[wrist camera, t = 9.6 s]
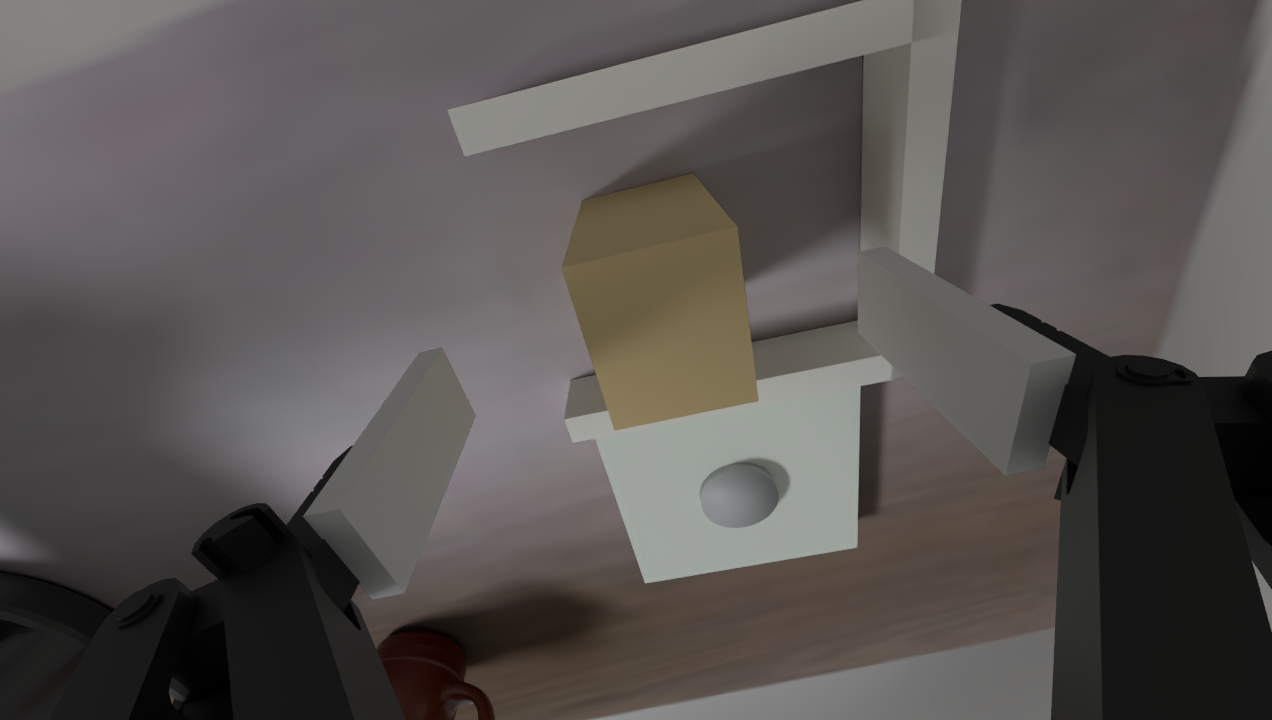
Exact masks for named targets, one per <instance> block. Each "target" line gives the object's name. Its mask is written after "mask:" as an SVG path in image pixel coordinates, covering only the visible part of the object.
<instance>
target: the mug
mask: <svg viewBox="0 0 1272 720" xmlns="http://www.w3.org/2000/svg"><path fill="white" fill-rule="evenodd" d="M376 650H377V652H378V655H379V657H380V659H381V662H382V664H383V667H384V669H385V671H386V674H387V676H388V678H389V681H390V683H391V685H392V688H393V690H394V692H395V695H396V697H397V699H398V702H399V704H400V706H401V709H402V711H403V714H404V716H405V718H406V720H454V718H455V715H456V711H457V708H458V707H459V706H461V705H465V704H471V705H474V706H476V707H477V710H478V720H495V716H494V711H493V707H492V704H491V702H490V700H489V698H488V697H487V695H486V694H485V693H484V692H483V691H482V690H481V689H479V688H477V687H475V686H473V685H471V684H469V683H466V682H464V678H465V674H466V656H465V653H464V652H463V650H462V649H461V647H460V646H459V645H458V644H457V643H456V642H455V641H454V640H452V639H451V638H450V637H448V636H446V635H443V634H440V633H437V632H433V631H428V630H408V631H403V632H400V633H397V634H395V635H392V636H390V637H388V638H386V639H385V640H383V641H382V642H381V643H380V644H379V646H378V647H377V649H376Z"/></svg>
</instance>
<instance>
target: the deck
mask: <svg viewBox="0 0 1272 720" xmlns="http://www.w3.org/2000/svg"><path fill="white" fill-rule="evenodd" d="M961 4H962V0H862V1H858V2H854V3H851V4H847V5H843V6H839V7H836V8H832V9H828V10H824V11H820V12H817V13H813V14H809V15H805V16H801V17H798V18H794V19H790V20H786V21H783V22H779V23H775V24H771V25H767V26H764V27H760V28H756V29H752V30H748V31H745V32H741V33H737V34H733V35H729V36H726V37H722V38H718V39H714V40H711V41H707V42H703V43H699V44H695V45H692V46H688V47H684V48H680V49H676V50H673V51H669V52H665V53H661V54H658V55H654V56H650V57H646V58H642V59H639V60H635V61H631V62H627V63H623V64H620V65H616V66H612V67H608V68H605V69H601V70H597V71H593V72H589V73H586V74H582V75H578V76H574V77H570V78H567V79H563V80H559V81H555V82H552V83H548V84H544V85H540V86H536V87H533V88H529V89H525V90H521V91H517V92H514V93H510V94H506V95H502V96H499V97H495V98H491V99H487V100H483V101H480V102H476V103H472V104H468V105H464V106H461V107H457V108H453V109H449V110H447V111H448V114H449V117H450V119H451V122H452V124H453V127H454V130H455V132H456V135H457V138H458V140H459V143H460V146H461V148H462V151H463V154H464V156H469V155H473V154H477V153H481V152H485V151H489V150H493V149H497V148H501V147H505V146H509V145H512V144H516V143H520V142H524V141H528V140H532V139H536V138H540V137H544V136H548V135H552V134H556V133H560V132H563V131H567V130H571V129H575V128H579V127H583V126H587V125H591V124H595V123H599V122H603V121H607V120H611V119H615V118H618V117H622V116H626V115H630V114H634V113H638V112H642V111H646V110H650V109H654V108H658V107H662V106H666V105H670V104H673V103H677V102H681V101H685V100H689V99H693V98H697V97H701V96H705V95H709V94H713V93H717V92H721V91H725V90H728V89H732V88H736V87H740V86H744V85H748V84H752V83H756V82H760V81H764V80H768V79H772V78H776V77H780V76H783V75H787V74H791V73H795V72H799V71H803V70H807V69H811V68H815V67H819V66H823V65H827V64H831V63H835V62H838V61H842V60H846V59H850V58H854V57H858V56H862V55H864V64H863V122H862V179H861V237H860V252H861V251H865V250H869V249H874V248H878V247H882V246H885V247H887V248H889V249H891V250H893V251H894V252H896V253H898V254H900V255H901V256H903V257H905V258H907V259H908V260H910V261H912V262H914V263H916V264H917V265H919V266H921V267H923V268H924V269H926V270H928V271H930V272H931V273H933V274H934V270H935V261H936V251H937V241H938V231H939V221H940V211H941V201H942V191H943V182H944V172H945V162H946V152H947V142H948V132H949V122H950V112H951V103H952V93H953V83H954V73H955V63H956V53H957V43H958V33H959V24H960V14H961ZM752 349H753V357H754V366H755V374H756V382H757V390H758V398H759V401H757V402H752V403H747V404H742V405H738V406H733V407H728V408H723V409H718V410H713V411H708V412H703V413H699V414H694V415H689V416H684V417H679V418H674V419H669V420H665V421H660V422H655V423H650V424H645V425H640V426H635V427H630V428H626V429H621V430H616V431H614V428H613V425H612V422H611V419H610V415H609V412H608V409H607V406H606V403H605V400H604V397H603V394H602V391H601V388H600V385H599V382H598V379H597V376H596V375H593V376H588V377H583V378H578V379H574V380H570V386H569V392H568V399H567V405H566V411H565V417H564V420H565V423H566V426H567V428H568V431H569V434H570V436H571V439H572V442H573V443H575V442H580V441H585V440H590V439H595V440H596V442H597V445H598V448H599V451H600V454H601V457H602V460H603V463H604V466H605V468H606V471H607V474H608V477H609V480H610V483H611V486H612V489H613V492H614V495H615V497H616V500H617V503H618V506H619V509H620V512H621V515H622V518H623V521H624V523H625V526H626V529H627V532H628V535H629V538H630V541H631V544H632V547H633V550H634V552H635V555H636V558H637V561H638V564H639V567H640V570H641V573H642V576H643V578H644V581H645V583H651V582H656V581H662V580H668V579H674V578H680V577H686V576H692V575H698V574H704V573H710V572H716V571H721V570H727V569H733V568H739V567H745V566H751V565H757V564H763V563H769V562H775V561H781V560H786V559H792V558H798V557H804V556H810V555H816V554H822V553H828V552H834V551H840V550H845V549H851V548H857V532H858V484H859V436H860V388H861V386H864V385H869V384H874V383H879V382H884V381H889V380H894V379H899V378H904V377H903V376H902V375H901V374H900V373H899V372H898V371H897V370H896V369H895V368H894V367H893V366H892V365H891V364H890V363H889V362H888V361H887V360H886V359H885V358H884V357H883V356H882V355H881V354H879V353H878V352H877V351H876V350H875V349H874V348H873V347H872V346H871V345H870V344H869V343H868V342H867V341H866V340H865V339H864V338H863V337H862V336H861V335H860V334H859V333H858V320H856V321H851V322H847V323H842V324H837V325H832V326H827V327H823V328H818V329H813V330H808V331H803V332H799V333H794V334H789V335H784V336H779V337H775V338H770V339H765V340H760V341H756V342H752Z"/></svg>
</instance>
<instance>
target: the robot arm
mask: <svg viewBox="0 0 1272 720" xmlns="http://www.w3.org/2000/svg"><path fill="white" fill-rule="evenodd" d="M858 333H859V334H860V335H861V336H862V337H863V338H864V339H865V340H866V341H867V342H868V343H869V344H870V345H871V346H872V347H873V348H874V349H875V350H876V351H877V352H878V353H879V354H881V355H882V356H883V357H884V358H885V359H886V360H887V361H888V362H889V363H890V364H891V365H892V366H893V367H894V368H895V369H896V370H897V371H898V372H899V373H900V374H901V375H902V376H903V377H904V378H905V379H906V380H907V381H908V382H909V383H910V384H911V385H912V386H913V387H915V388H916V389H917V390H918V391H919V392H920V393H921V394H922V395H923V396H924V397H925V398H926V399H927V400H928V401H929V402H930V403H931V404H932V405H933V406H934V407H935V408H936V409H937V410H938V411H939V412H940V413H941V414H942V415H943V416H944V417H945V418H946V419H947V420H949V421H950V422H951V423H952V424H953V425H954V426H955V427H956V428H957V429H958V430H959V431H960V432H961V433H962V434H963V435H964V436H965V437H966V438H967V439H968V440H969V441H970V442H971V443H972V444H973V445H974V446H975V447H976V448H977V449H978V450H979V451H980V452H981V453H982V454H984V455H985V456H986V457H987V458H988V459H989V460H990V461H991V462H992V463H993V464H994V465H995V466H996V467H997V468H998V469H999V470H1000V471H1001V472H1002V473H1003V474H1004V475H1005V476H1007V475H1012V474H1017V473H1022V472H1027V471H1032V470H1037V469H1042V468H1044V465H1045V462H1046V458H1047V455H1048V451H1049V448H1050V445H1051V446H1052V447H1053V448H1055V449H1056V450H1057V451H1058V452H1060V453H1061V454H1062V455H1063V456H1065V457H1066V458H1067V459H1066V462H1065V465H1064V468H1063V471H1062V475H1061V478H1060V481H1059V484H1058V487H1057V491H1056V494H1055V497H1054V499H1057V500H1061V514H1060V535H1059V557H1058V579H1057V601H1056V622H1055V644H1054V646H1055V647H1054V667H1053V688H1052V709H1051V720H1272V632H1271V628H1270V624H1269V621H1268V617H1267V614H1266V610H1265V606H1264V603H1263V599H1262V596H1261V592H1260V588H1259V585H1258V582H1257V578H1256V575H1255V571H1254V567H1253V563H1254V564H1255V566H1256V567H1257V568H1258V570H1259V571H1260V573H1261V574H1262V576H1263V577H1264V579H1265V580H1266V582H1267V583H1268V585H1269V586H1270V587H1271V589H1272V351H1269V352H1266V353H1262V354H1259V355H1257V356H1256V358H1255V359H1254V360H1253V362H1252V364H1251V366H1250V368H1249V370H1248V371H1247V373H1246V375H1245V376H1241V377H1240V376H1239V377H1198V376H1197V375H1196V374H1195V373H1194V372H1192V371H1191V370H1189V369H1187V368H1185V367H1184V366H1182V365H1179V364H1176V363H1173V362H1170V361H1167V360H1164V359H1159V358H1153V357H1147V356H1137V355H1121V356H1114V357H1109V356H1107V355H1105V354H1103V353H1102V352H1100V351H1098V350H1096V349H1094V348H1092V347H1090V346H1088V345H1087V344H1085V343H1083V342H1081V341H1079V340H1077V339H1075V338H1073V337H1072V336H1070V335H1068V334H1066V333H1064V332H1062V331H1057V328H1055V327H1053V326H1051V325H1049V324H1047V323H1045V322H1044V323H1042V322H1041V320H1040V319H1038V318H1036V317H1034V316H1032V315H1030V314H1028V313H1027V312H1025V311H1023V310H1019V309H1016V308H1012V307H1008V306H1005V305H1001V304H993V305H988V304H986V303H985V302H983V301H981V300H979V299H977V298H976V297H974V296H972V295H970V294H969V293H967V292H965V291H963V290H962V289H960V288H958V287H956V286H954V285H953V284H951V283H949V282H947V281H946V280H944V279H942V278H940V277H939V276H937V275H935V274H933V273H931V272H930V271H928V270H926V269H924V268H923V267H921V266H919V265H917V264H916V263H914V262H912V261H910V260H908V259H907V258H905V257H903V256H901V255H900V254H898V253H896V252H894V251H893V250H891V249H889V248H887V247H885V246H882V247H878V248H874V249H869V250H865V251H861V252H859V269H858ZM475 417H476V415H475V413H474V411H473V409H472V407H471V405H470V403H469V401H468V399H467V397H466V395H465V393H464V391H463V389H462V387H461V385H460V383H459V381H458V379H457V377H456V375H455V373H454V371H453V368H452V366H451V364H450V362H449V360H448V358H447V356H446V354H445V352H444V350H443V348H438V349H434V350H429V351H425V352H421V353H419V354H418V355H417V357H416V358H415V360H414V361H413V362H412V364H411V365H410V367H409V368H408V369H407V371H406V372H405V374H404V375H403V376H402V378H401V379H400V381H399V382H398V383H397V385H396V386H395V388H394V389H393V390H392V392H391V393H390V395H389V396H388V397H387V399H386V400H385V402H384V403H383V405H382V406H381V407H380V409H379V410H378V412H377V413H376V414H375V416H374V417H373V419H372V420H371V421H370V423H369V424H368V426H367V427H366V428H365V430H364V431H363V433H362V434H361V435H360V437H359V438H358V440H357V441H356V442H355V444H354V445H353V446H350V447H349V448H348V449H347V450H346V451H345V452H344V453H342V454H341V455H340V456H339V457H338V458H337V459H336V460H334V461H333V463H332V464H331V465H330V467H329V468H328V470H327V471H326V472H325V474H324V475H323V479H320V480H319V482H318V483H317V485H316V486H315V487H314V491H313V492H311V493H310V494H309V495H308V497H307V498H306V500H305V501H304V502H303V504H302V505H301V506H300V508H299V509H298V510H297V512H296V513H295V515H294V516H293V517H292V519H291V520H290V521H289V523H288V524H287V525H285V524H284V523H283V522H282V521H281V519H280V518H279V517H278V516H277V515H276V514H275V513H274V511H273V510H272V509H271V508H270V507H269V506H268V505H267V504H265V503H256V504H252V505H249V506H245V507H243V508H241V509H239V510H237V511H235V512H232V513H230V514H229V515H227V516H226V517H224V518H223V519H221V520H220V521H218V522H217V523H215V524H214V525H213V526H212V527H210V528H209V529H208V530H207V531H206V532H205V533H204V534H203V535H202V536H201V537H200V538H199V540H198V541H197V542H196V543H195V545H194V547H193V550H192V553H191V554H192V555H193V556H194V557H195V558H196V559H197V560H198V561H199V562H200V563H201V564H203V565H204V566H205V567H206V568H207V569H208V570H209V571H210V572H211V573H212V574H213V575H214V576H215V577H217V578H218V580H216V581H214V582H212V583H209V584H207V585H205V586H202V587H200V588H198V589H196V590H193V591H190V590H189V589H188V588H187V587H186V586H185V585H184V584H182V583H181V582H180V581H179V580H177V579H176V578H172V579H164V580H161V581H159V582H156V583H154V584H151V585H149V586H148V587H146V588H144V589H142V590H141V591H137V592H135V593H134V594H132V595H131V596H129V599H125V600H124V601H123V602H122V603H120V604H119V605H118V606H117V608H116V609H115V610H114V611H113V612H111V611H110V610H108V609H106V608H105V607H103V606H101V605H99V604H97V603H96V602H94V601H92V600H89V599H87V598H85V597H83V596H81V595H78V594H76V593H74V592H71V591H69V590H66V589H63V588H60V587H57V586H54V585H51V584H48V583H45V582H41V581H38V580H34V579H30V578H26V577H21V576H16V575H11V574H5V573H0V720H406V718H405V716H404V714H403V711H402V709H401V706H400V704H399V702H398V699H397V697H396V695H395V692H394V690H393V688H392V685H391V683H390V681H389V678H388V676H387V674H386V671H385V669H384V667H383V664H382V662H381V659H380V657H379V655H378V652H377V650H376V648H375V645H374V643H373V641H372V638H371V636H370V634H369V631H368V629H367V627H366V624H365V622H364V620H363V617H362V615H361V612H360V610H359V608H358V607H357V606H356V605H355V604H354V603H353V602H352V600H351V598H352V596H353V594H354V592H355V590H356V588H357V586H358V584H360V585H361V586H362V588H363V589H364V590H365V591H366V592H367V594H368V595H369V596H370V597H371V598H372V600H373V599H378V598H383V597H388V596H393V595H398V594H403V593H405V591H406V588H407V586H408V584H409V581H410V579H411V576H412V574H413V571H414V569H415V566H416V564H417V561H418V559H419V556H420V554H421V551H422V549H423V546H424V544H425V541H426V539H427V536H428V534H429V531H430V529H431V526H432V524H433V521H434V519H435V516H436V514H437V511H438V509H439V506H440V504H441V501H442V499H443V496H444V494H445V491H446V489H447V486H448V484H449V481H450V479H451V476H452V474H453V471H454V469H455V466H456V464H457V461H458V459H459V456H460V454H461V451H462V449H463V446H464V444H465V441H466V439H467V436H468V434H469V432H470V429H471V427H472V424H473V422H474V419H475ZM1252 561H1253V563H1252ZM169 695H170V696H172V697H173V698H174V701H173V704H172V703H171V699H170V696H169Z"/></svg>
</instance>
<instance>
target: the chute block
mask: <svg viewBox="0 0 1272 720" xmlns="http://www.w3.org/2000/svg"><path fill="white" fill-rule="evenodd" d="M562 271H563V274H564V278H565V281H566V284H567V287H568V290H569V293H570V296H571V299H572V302H573V305H574V308H575V311H576V314H577V317H578V320H579V323H580V327H581V330H582V333H583V336H584V339H585V342H586V345H587V348H588V351H589V354H590V357H591V360H592V363H593V366H594V369H595V373H596V376H597V379H598V382H599V385H600V388H601V391H602V394H603V397H604V400H605V403H606V406H607V409H608V412H609V415H610V419H611V422H612V425H613V428H614V431H616V430H621V429H626V428H630V427H635V426H640V425H645V424H650V423H655V422H660V421H665V420H669V419H674V418H679V417H684V416H689V415H694V414H699V413H703V412H708V411H713V410H718V409H723V408H728V407H733V406H738V405H742V404H747V403H752V402H757V401H759V398H758V390H757V382H756V374H755V366H754V357H753V349H752V341H751V333H750V325H749V317H748V309H747V301H746V292H745V284H744V276H743V268H742V260H741V252H740V244H739V235H738V227H737V225H736V224H735V223H734V222H733V221H732V219H731V218H730V217H729V216H728V215H727V213H726V212H725V211H724V210H723V209H722V207H721V206H720V205H719V204H718V203H717V202H716V200H715V199H714V198H713V197H712V196H711V194H710V193H709V192H708V191H707V190H706V188H705V187H704V186H703V185H702V184H701V183H700V181H699V180H698V179H697V178H696V177H695V175H694V174H693V173H691V174H687V175H683V176H679V177H675V178H671V179H667V180H663V181H659V182H655V183H651V184H647V185H643V186H639V187H635V188H631V189H627V190H623V191H619V192H615V193H611V194H607V195H603V196H599V197H595V198H591V199H587V200H583V201H582V203H581V206H580V210H579V213H578V216H577V219H576V223H575V226H574V229H573V232H572V236H571V239H570V242H569V245H568V249H567V252H566V255H565V258H564V262H563V265H562Z"/></svg>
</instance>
